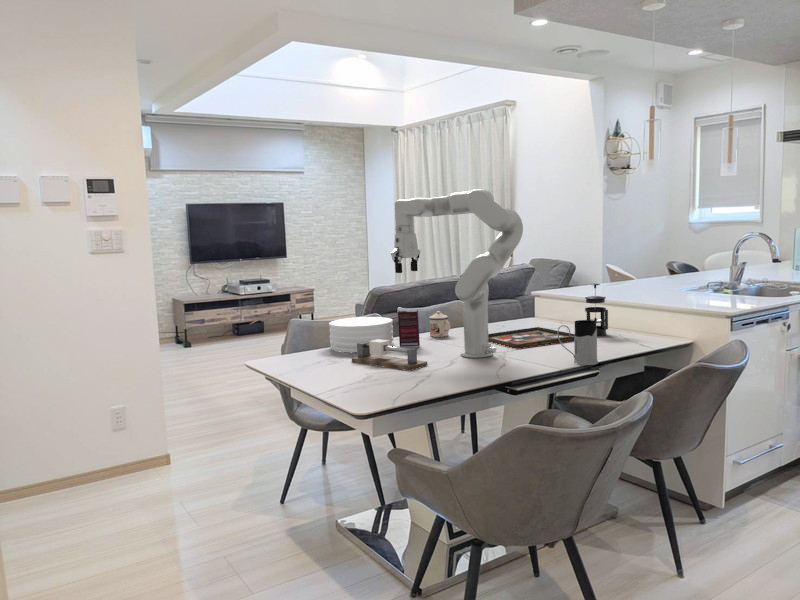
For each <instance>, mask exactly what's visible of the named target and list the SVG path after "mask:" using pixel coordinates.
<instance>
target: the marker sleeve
mask: <svg viewBox="0 0 800 600" xmlns="http://www.w3.org/2000/svg"><path fill="white" fill-rule="evenodd" d="M369 344H370V354H374V355H382V356H386V355H388V354H391V351H389V350H384V348H383V346H390V340H381V339H377V340H372V341H369Z"/></svg>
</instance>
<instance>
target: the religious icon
mask: <svg viewBox="0 0 800 600" xmlns="http://www.w3.org/2000/svg"><path fill="white" fill-rule="evenodd" d="M557 331H558V330H555V329H552V328H551V329H550V328H545V327H539V326H536V327H530V328H529V327H528V328H521V329H520V328H519V329H513V330H509V331H508V330H507V331H506V330H505V331H500V332H494V333H493V332H492V333H488V341H489V343H490V342H493V343H492V344H494V343H497V344H496V345H498V344H501V345H500V346H502V345H505V346H504V347H506V346H509V347H508V348H510V347H512V348H511V349H513V348H521V349H524V348H523V347H528V348H531V347H530V346H535V347H539V346H538V345H542V346H546V345H545V344H549V345H552V344H551V343H556V344H561V343H560V341H561V342H563V343H568V342H567V341H570V342H574V337H571V336H574V335H575V333H571V332H570V335H571V336H570V335H569V332H565V331H560V330H559V332H558V333H559V339H560V341H559V339H558V333H557Z"/></svg>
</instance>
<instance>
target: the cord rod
mask: <svg viewBox="0 0 800 600" xmlns="http://www.w3.org/2000/svg"><path fill="white" fill-rule="evenodd" d="M383 348H384V350H389V351H390V352H397V353H405V354H407V359H408V364H414V363H417V360H418V353H417V350H418V349H417V348H400V346H399V347H397V346H393V347H391V346H383ZM356 355H357V357H361V358H364V357H368V356H371V354H370V344H369V342H360V343H357V354H356Z"/></svg>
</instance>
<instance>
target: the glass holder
mask: <svg viewBox="0 0 800 600" xmlns="http://www.w3.org/2000/svg"><path fill="white" fill-rule="evenodd" d="M596 326H597V323H596V321H593V320H587V319H578V320H575V321H574V334H575V335H574V336H571V335H570V333H571V330H570V327H569V326H568V325H565V324H564V325H563V324H562V325H560V326H558V328H557V330H556V331H557V333H558V332H559V331H560V328H562V327H566V328H567V330H568V333H569V335H570V336H571V337H574V341H573V342H574V345H573V346H574V349H573V351H574V353H573V352H572V351H571V350H570V349H568V348H567V347H566V346H565V345H564V344H563V343H561V341H560V339H559V333H558V339H559V341H560V343H559V344H560V345H561V346H562V348H564V349H565V350H567V351H568V352H569V353H570V354H572V355H573V359H574V360H573V362H574V363H573V362H572V363H573V364H575V363H577V364H576V365H578V364H582V365H581V366H594V365H598V364H599V360H598V336H597V327H596Z"/></svg>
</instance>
